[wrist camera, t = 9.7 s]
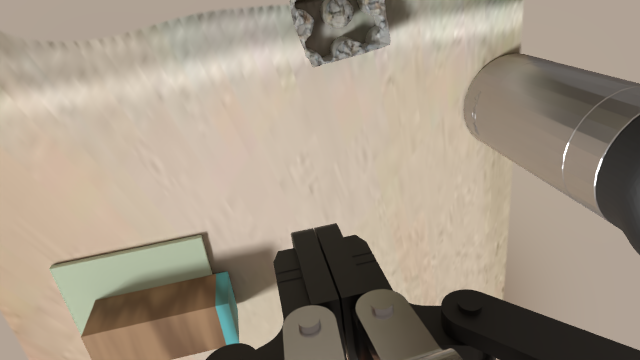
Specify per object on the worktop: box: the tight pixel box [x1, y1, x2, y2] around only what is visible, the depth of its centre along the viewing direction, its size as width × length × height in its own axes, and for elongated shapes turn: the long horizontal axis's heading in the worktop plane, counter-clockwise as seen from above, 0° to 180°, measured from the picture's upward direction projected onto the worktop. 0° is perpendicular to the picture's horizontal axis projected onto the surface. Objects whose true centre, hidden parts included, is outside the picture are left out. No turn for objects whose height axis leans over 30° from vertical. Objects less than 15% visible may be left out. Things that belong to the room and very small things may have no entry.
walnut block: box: [81, 271, 239, 360], centre depth 43 cm, size 5×5×13 cm
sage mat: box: [50, 235, 213, 336], centre depth 45 cm, size 14×14×1 cm
